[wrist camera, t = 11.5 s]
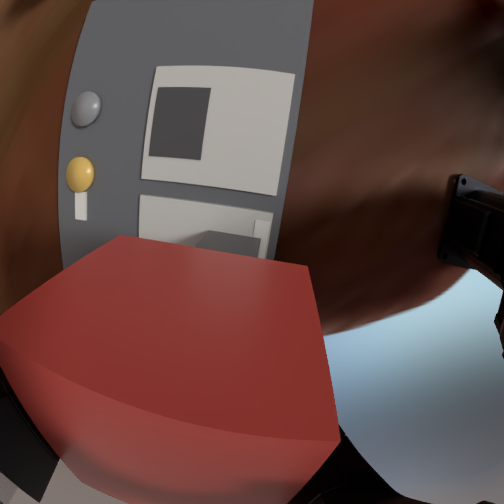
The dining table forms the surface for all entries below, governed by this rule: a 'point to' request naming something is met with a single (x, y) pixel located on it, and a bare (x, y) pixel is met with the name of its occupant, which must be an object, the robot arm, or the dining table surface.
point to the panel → (180, 121)
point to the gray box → (230, 243)
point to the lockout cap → (176, 373)
